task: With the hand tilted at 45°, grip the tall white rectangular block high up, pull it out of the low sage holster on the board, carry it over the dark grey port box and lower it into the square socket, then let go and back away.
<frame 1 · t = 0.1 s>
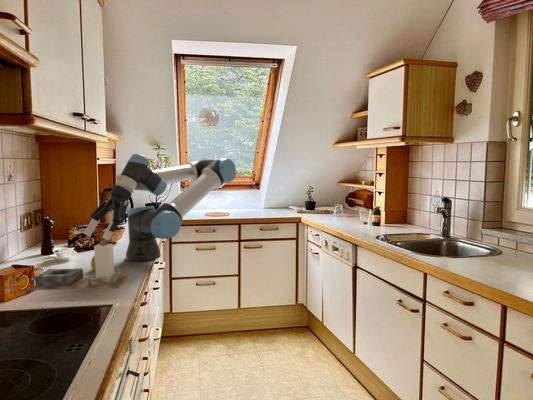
hand: (95, 237, 158), 15 cm above the worktop, tool tilted 35°, fingers open, 13 cm apart
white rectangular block: (105, 281, 148), point 1 cm above the worktop, touching board
lemon: (99, 274, 165), on the worktop
board: (83, 285, 148), on the worktop
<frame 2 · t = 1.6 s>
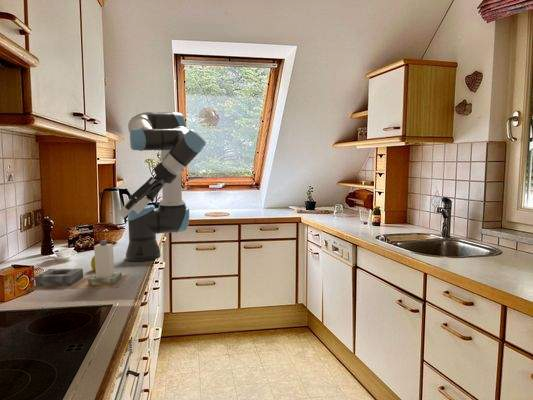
hand: (128, 213, 146), 25 cm above the worktop, tool tilted 45°, fingers open, 13 cm apart
nothing on the worktop moved.
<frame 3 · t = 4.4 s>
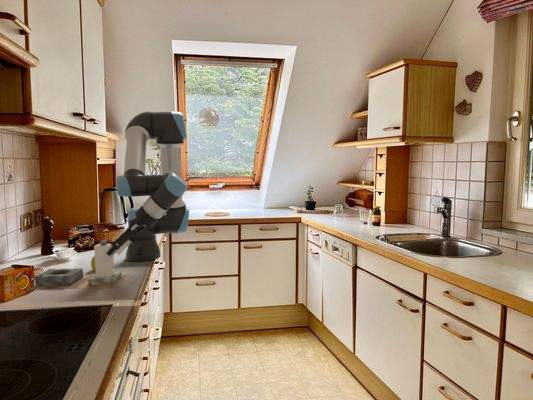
hand: (109, 256, 146), 11 cm above the worktop, tool tilted 45°, fingers open, 13 cm apart
nothing on the worktop moved.
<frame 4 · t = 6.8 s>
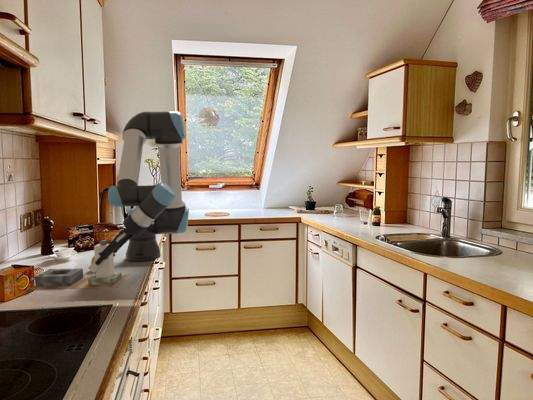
hand: (93, 268, 148), 6 cm above the worktop, tool tilted 45°, fingers closed on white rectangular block, 4 cm apart
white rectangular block: (105, 281, 148), point 2 cm above the worktop, touching board, gripper
everything else where it was.
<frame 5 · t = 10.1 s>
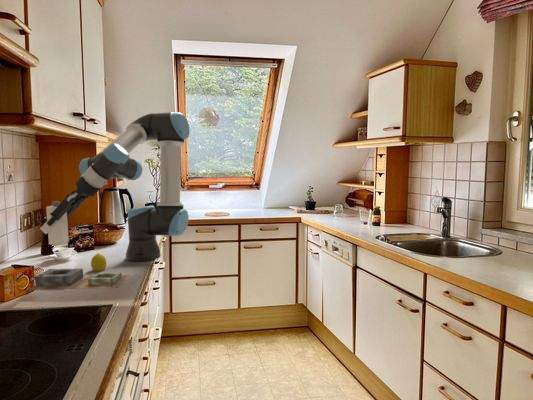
hand: (46, 230, 146), 20 cm above the worktop, tool tilted 45°, fingers closed on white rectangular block, 4 cm apart
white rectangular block: (59, 243, 147), point 15 cm above the worktop, touching gripper
everything else where it was.
when the fingers open (7 cm above the worktop, at t = 13.2 s): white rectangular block stays where it is, resting on board.
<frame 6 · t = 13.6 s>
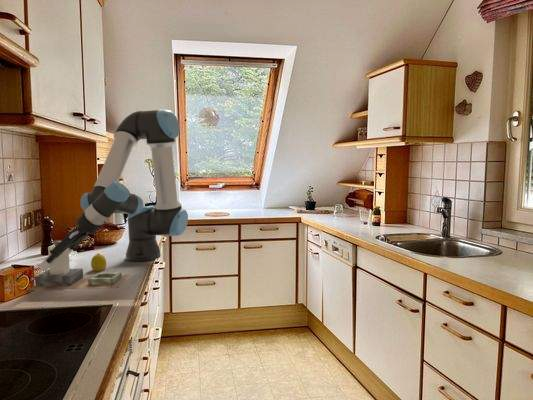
hand: (50, 264, 148), 8 cm above the worktop, tool tilted 45°, fingers open, 9 cm apart
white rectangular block: (60, 282, 148), point 1 cm above the worktop, touching board
everything else where it was.
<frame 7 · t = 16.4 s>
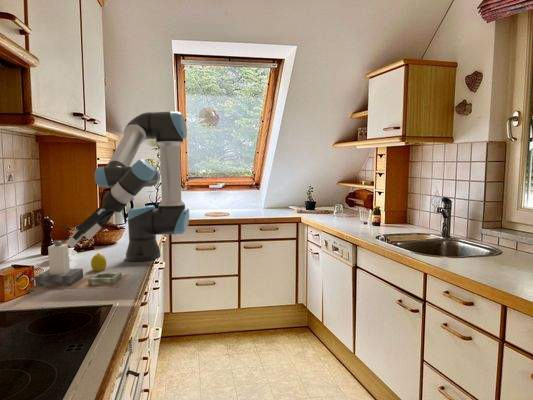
hand: (78, 241, 147), 16 cm above the worktop, tool tilted 45°, fingers open, 13 cm apart
nothing on the worktop moved.
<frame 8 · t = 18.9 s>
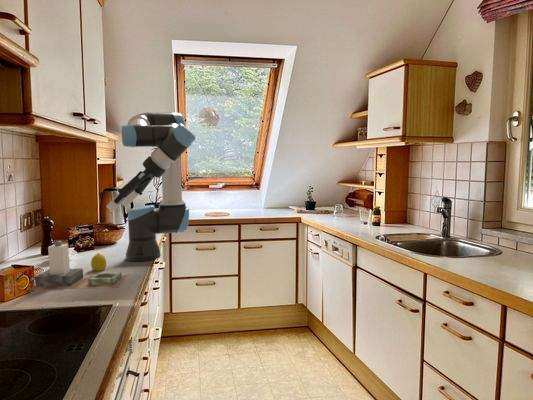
hand: (116, 207, 146), 28 cm above the worktop, tool tilted 45°, fingers open, 13 cm apart
nothing on the worktop moved.
at the end: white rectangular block 0.2 cm from the target spot on the board, point 1.5 cm above the board's base; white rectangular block tilted 0°; the gripper is holding nothing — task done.
